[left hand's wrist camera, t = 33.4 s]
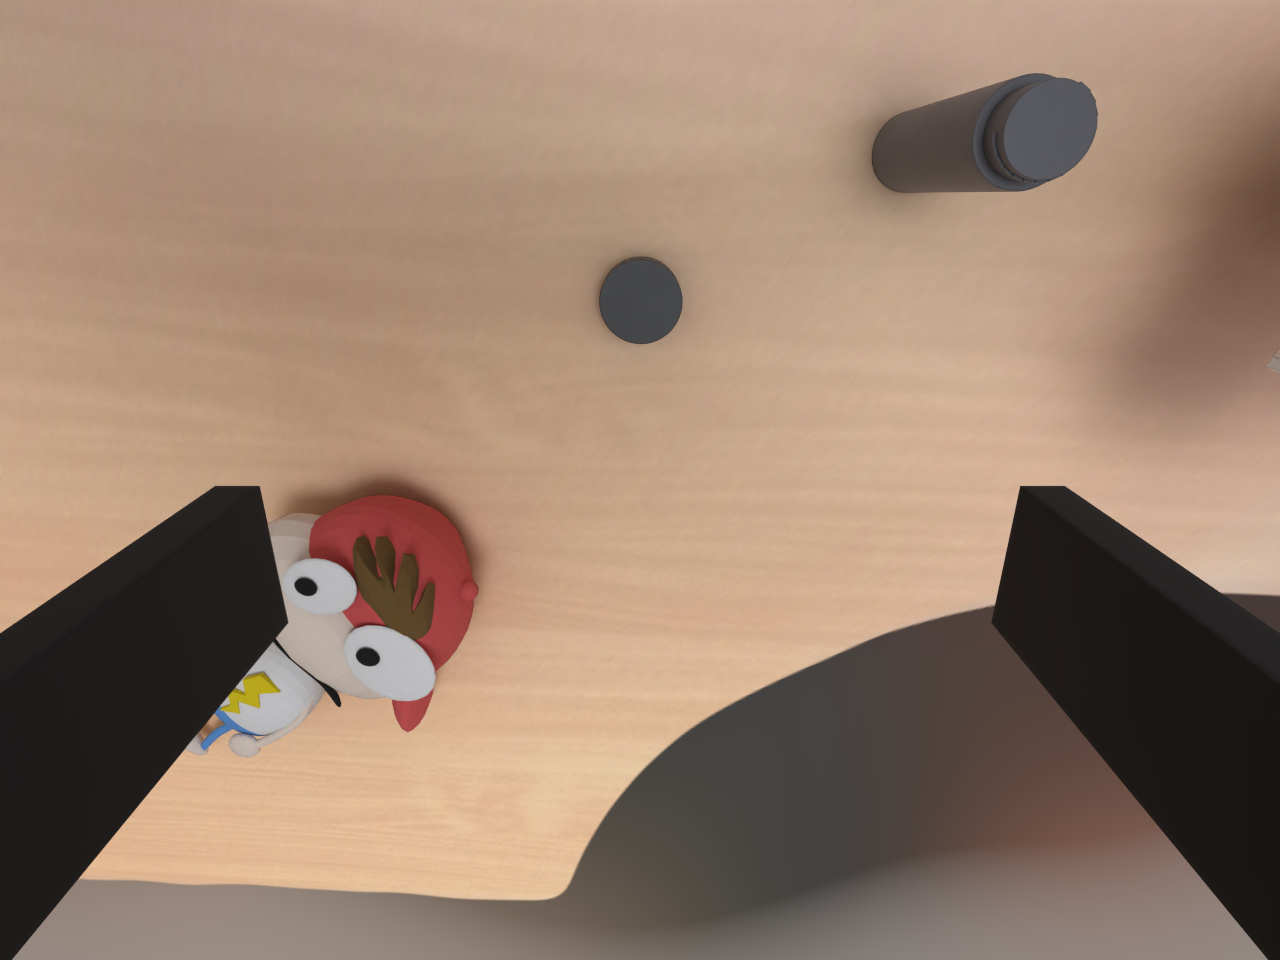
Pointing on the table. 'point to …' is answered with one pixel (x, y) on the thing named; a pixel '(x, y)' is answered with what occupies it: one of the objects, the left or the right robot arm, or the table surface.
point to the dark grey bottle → (989, 138)
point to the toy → (354, 617)
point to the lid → (640, 300)
